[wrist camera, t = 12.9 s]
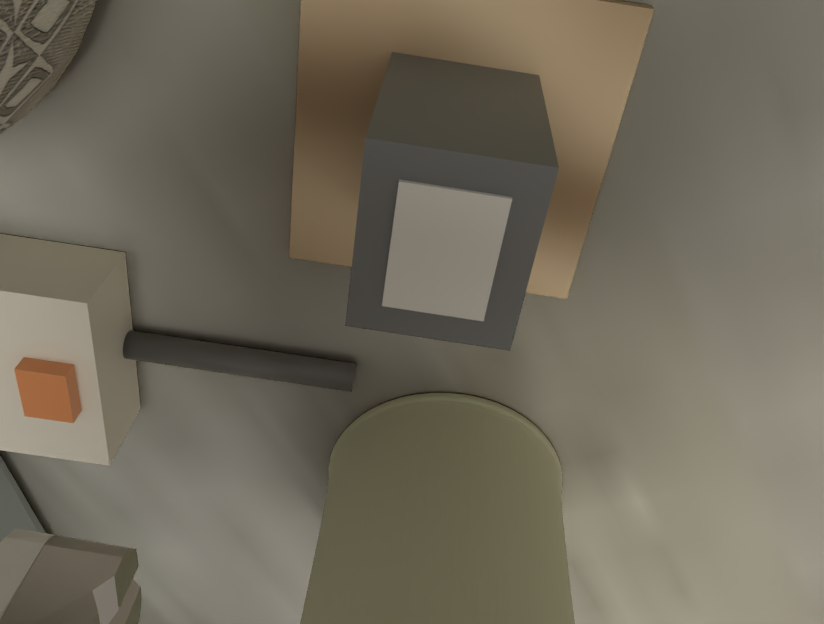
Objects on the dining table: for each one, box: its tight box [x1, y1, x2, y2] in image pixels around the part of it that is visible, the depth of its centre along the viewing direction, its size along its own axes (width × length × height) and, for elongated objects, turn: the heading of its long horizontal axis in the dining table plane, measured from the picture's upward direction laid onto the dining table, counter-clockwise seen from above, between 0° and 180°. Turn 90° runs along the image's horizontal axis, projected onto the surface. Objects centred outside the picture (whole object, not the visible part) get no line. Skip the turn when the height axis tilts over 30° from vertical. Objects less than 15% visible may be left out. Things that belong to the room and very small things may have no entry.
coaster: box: [289, 0, 654, 299], centre depth 22 cm, size 9×9×1 cm
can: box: [300, 393, 575, 624], centre depth 25 cm, size 9×9×12 cm
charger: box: [345, 52, 559, 351], centre depth 19 cm, size 5×4×6 cm
